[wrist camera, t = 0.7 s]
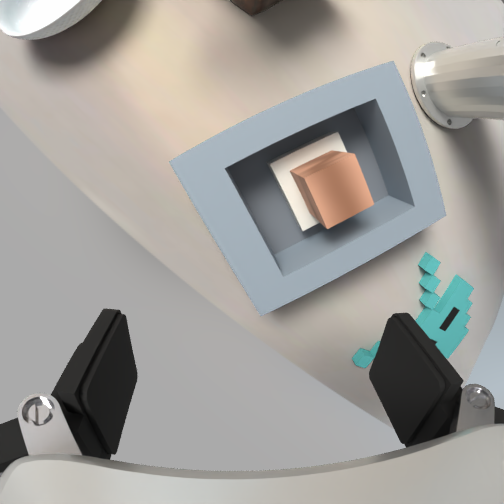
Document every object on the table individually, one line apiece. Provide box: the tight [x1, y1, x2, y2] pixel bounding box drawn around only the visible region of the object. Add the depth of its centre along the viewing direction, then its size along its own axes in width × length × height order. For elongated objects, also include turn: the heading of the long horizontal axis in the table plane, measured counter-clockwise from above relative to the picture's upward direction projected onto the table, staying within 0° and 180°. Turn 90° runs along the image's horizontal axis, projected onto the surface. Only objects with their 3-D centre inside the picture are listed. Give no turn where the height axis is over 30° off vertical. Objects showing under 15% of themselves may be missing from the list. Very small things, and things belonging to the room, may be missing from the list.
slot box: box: [169, 61, 446, 316], centre depth 31 cm, size 24×18×7 cm
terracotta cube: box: [290, 150, 374, 229], centre depth 28 cm, size 5×5×6 cm
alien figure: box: [352, 252, 474, 368], centre depth 44 cm, size 20×2×20 cm
